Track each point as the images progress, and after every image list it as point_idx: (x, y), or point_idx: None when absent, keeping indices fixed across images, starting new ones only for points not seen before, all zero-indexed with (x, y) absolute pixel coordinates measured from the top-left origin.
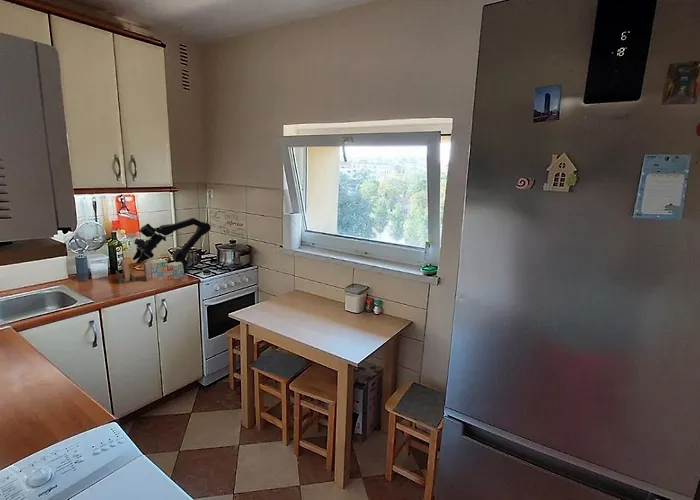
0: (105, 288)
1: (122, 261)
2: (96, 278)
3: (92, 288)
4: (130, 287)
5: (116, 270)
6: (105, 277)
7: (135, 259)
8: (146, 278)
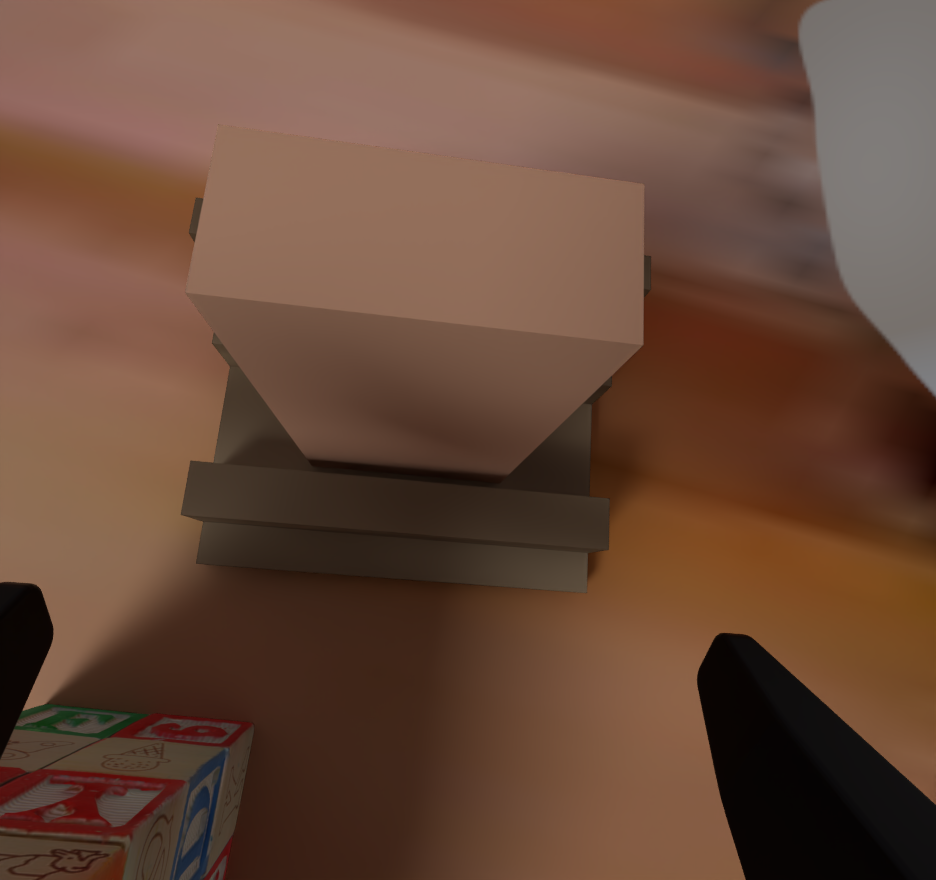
0: (249, 111)
1: (461, 175)
2: (814, 163)
3: (368, 5)
4: (16, 386)
5: (650, 272)
6: (806, 261)
7: (709, 744)
8: (21, 728)
